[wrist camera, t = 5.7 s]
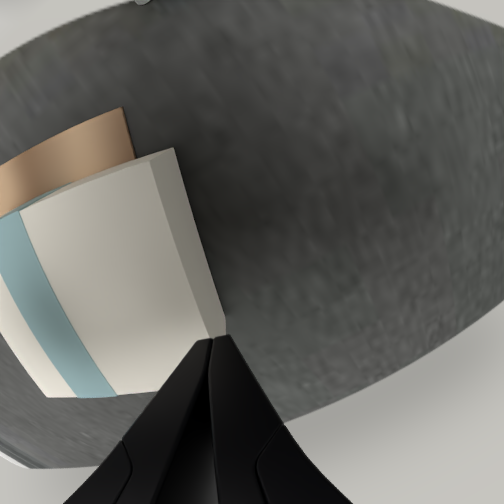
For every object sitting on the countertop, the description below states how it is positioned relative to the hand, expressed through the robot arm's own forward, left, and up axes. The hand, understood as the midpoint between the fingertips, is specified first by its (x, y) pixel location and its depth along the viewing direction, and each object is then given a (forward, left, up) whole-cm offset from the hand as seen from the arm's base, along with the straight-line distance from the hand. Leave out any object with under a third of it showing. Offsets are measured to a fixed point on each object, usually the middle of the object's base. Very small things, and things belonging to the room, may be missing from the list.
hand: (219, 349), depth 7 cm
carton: (+1, 0, -5) cm, 6 cm away
